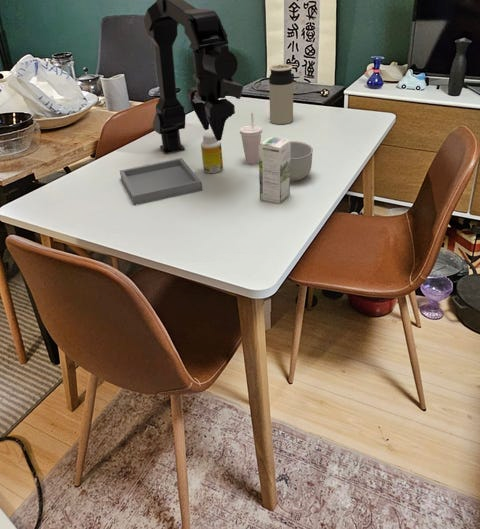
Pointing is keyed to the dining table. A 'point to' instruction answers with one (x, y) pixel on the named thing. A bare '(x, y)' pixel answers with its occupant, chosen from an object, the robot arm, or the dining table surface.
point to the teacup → (300, 160)
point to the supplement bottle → (211, 154)
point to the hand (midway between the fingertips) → (212, 134)
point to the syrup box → (274, 169)
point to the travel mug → (281, 94)
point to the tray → (160, 181)
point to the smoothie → (251, 141)
